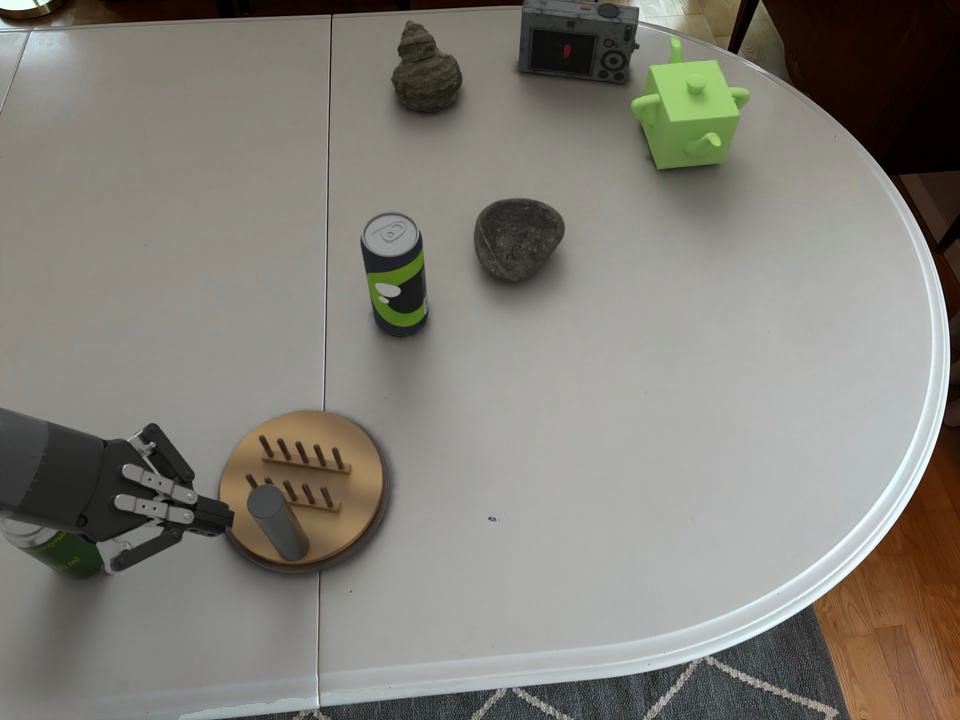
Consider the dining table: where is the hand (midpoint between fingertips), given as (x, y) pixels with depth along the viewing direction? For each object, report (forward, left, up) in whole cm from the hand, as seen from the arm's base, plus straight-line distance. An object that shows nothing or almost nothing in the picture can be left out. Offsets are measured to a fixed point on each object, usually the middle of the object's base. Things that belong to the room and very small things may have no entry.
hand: (228, 522), depth 69 cm
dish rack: (+6, +5, -8) cm, 11 cm away
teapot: (+65, +36, -10) cm, 75 cm away
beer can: (-15, +5, -10) cm, 19 cm away
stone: (+38, +26, -10) cm, 47 cm away
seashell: (+36, +55, -10) cm, 66 cm away
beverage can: (+22, +22, -10) cm, 32 cm away
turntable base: (+6, +5, -9) cm, 12 cm away
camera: (+58, +54, -10) cm, 79 cm away
